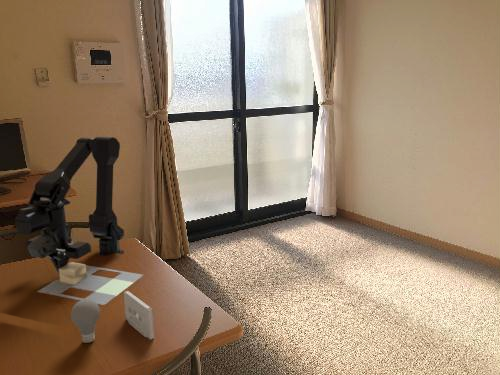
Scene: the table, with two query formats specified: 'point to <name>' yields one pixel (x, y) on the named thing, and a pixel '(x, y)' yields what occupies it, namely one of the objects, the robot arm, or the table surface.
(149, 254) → the table surface
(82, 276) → the maple block
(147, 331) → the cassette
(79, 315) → the light bulb
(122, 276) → the board
